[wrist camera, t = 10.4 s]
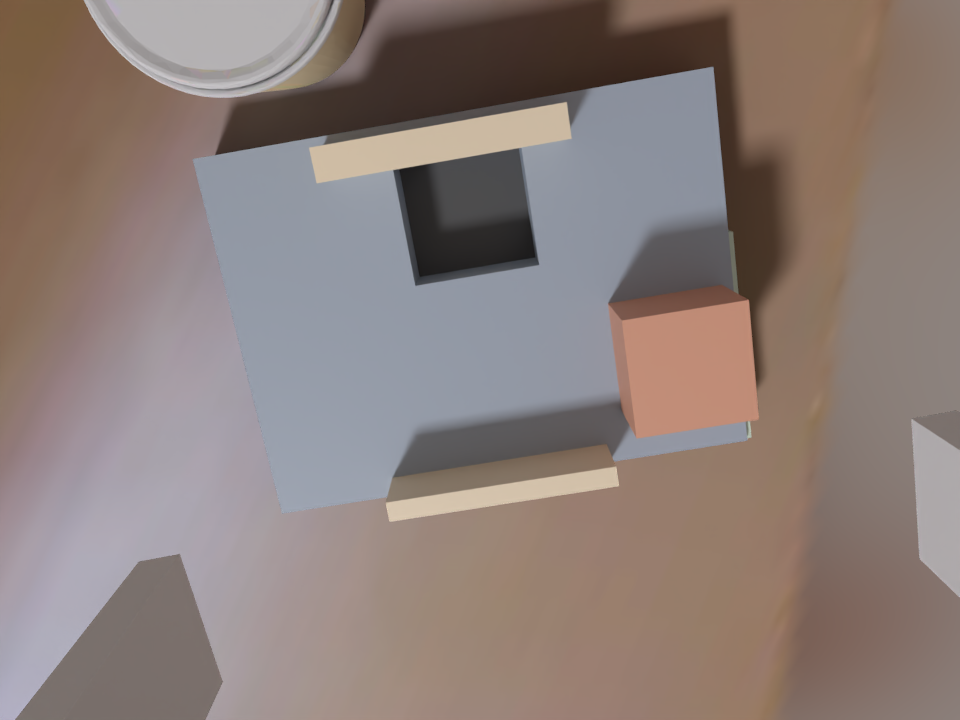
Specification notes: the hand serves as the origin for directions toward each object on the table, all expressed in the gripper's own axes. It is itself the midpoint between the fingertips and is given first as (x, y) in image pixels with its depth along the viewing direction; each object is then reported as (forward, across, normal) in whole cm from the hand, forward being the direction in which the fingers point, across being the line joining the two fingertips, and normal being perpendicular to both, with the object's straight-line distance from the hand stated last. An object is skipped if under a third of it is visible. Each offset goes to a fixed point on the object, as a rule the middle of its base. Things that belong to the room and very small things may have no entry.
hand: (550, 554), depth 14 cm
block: (+25, +8, -4) cm, 27 cm away
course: (+28, -1, -1) cm, 28 cm away
